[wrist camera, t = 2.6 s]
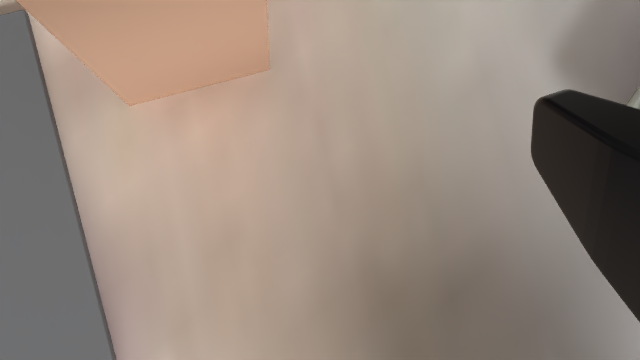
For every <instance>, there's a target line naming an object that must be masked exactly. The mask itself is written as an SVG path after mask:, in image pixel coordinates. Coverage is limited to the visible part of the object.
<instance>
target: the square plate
mask: <svg viewBox="0 0 640 360" xmlns="http://www.w3.org/2000/svg"><path fill="white" fill-rule="evenodd" d="M627 106H631V107H634V108H638V109H640V86H639V88H638V89H637V91H636V92H635V93H634V95H633V96H632V98H631V99H630V100H629V102H628V103H627Z"/></svg>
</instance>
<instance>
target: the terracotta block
mask: <svg viewBox="0 0 640 360" xmlns="http://www.w3.org/2000/svg"><path fill="white" fill-rule="evenodd" d="M16 1H17V2H18V3H19V4H20V5H21V6H22V7H23V8H25V9H26V10H27V11H28V12H29V13H30V14H31V15H32V16H33V17H34V18H35V19H36V20H37V21H39V22H40V23H41V24H42V25H43V26H44V27H45V28H46V29H47V30H48V31H49V32H50V33H51V34H52V35H54V36H55V37H56V38H57V39H58V40H59V41H60V42H61V43H62V44H63V45H64V46H65V47H66V48H68V49H69V50H70V51H71V52H72V53H73V54H74V55H75V56H76V57H77V58H78V59H79V60H80V61H82V62H83V63H84V64H85V65H86V66H87V67H88V68H89V69H90V70H91V71H92V72H93V73H94V74H95V75H97V76H98V77H99V78H100V79H101V80H102V81H103V82H104V83H105V84H106V85H107V86H108V87H109V88H111V89H112V90H113V91H114V92H115V93H116V94H117V95H118V96H119V97H120V98H121V99H122V100H123V101H124V102H126V103H127V104H128V105H129V106H131V105H135V104H138V103H142V102H146V101H150V100H154V99H158V98H161V97H165V96H169V95H173V94H177V93H181V92H185V91H188V90H192V89H196V88H200V87H204V86H208V85H211V84H215V83H219V82H223V81H227V80H231V79H235V78H238V77H242V76H246V75H250V74H254V73H258V72H261V71H265V70H269V69H270V66H269V40H268V13H267V0H16Z"/></svg>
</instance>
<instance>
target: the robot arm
mask: <svg viewBox="0 0 640 360" xmlns="http://www.w3.org/2000/svg"><path fill="white" fill-rule="evenodd" d="M531 155H532V159H533V162H534V164H535V167H536V168H537V170H538V172H539V173H540V175H541V177H542V178H543V180H544V182H545V183H546V185H547V187H548V188H549V190H550V192H551V193H552V195H553V197H554V198H555V200H556V202H557V203H558V205H559V207H560V208H561V210H562V212H563V213H564V215H565V217H566V218H567V220H568V222H569V223H570V225H571V227H572V228H573V230H574V232H575V233H576V235H577V237H578V238H579V240H580V242H581V243H582V245H583V246H584V248H585V249H586V251H587V253H588V254H589V256H590V257H591V259H592V260H593V262H594V263H595V264H596V266H597V267H598V268H599V270H600V271H601V272H602V274H603V275H604V276H605V278H606V279H607V280H608V282H609V283H610V284H611V286H612V287H613V288H614V289H615V291H616V292H617V293H618V295H619V296H620V297H621V299H622V300H623V301H624V302H625V304H626V305H627V306H628V308H629V309H630V310H631V312H632V313H633V314H634V315H635V317H636V318H637V319H638V321H639V322H640V109H638V108H634V107H631V106H627V105H624V104H620V103H616V102H613V101H609V100H606V99H602V98H599V97H595V96H592V95H588V94H585V93H581V92H578V91H574V90H562V91H559V92H556V93H553V94H549V95H546V96H543V97H541V98H539V99H538V100H537V101H536V103H535V105H534V110H533V124H532V139H531Z"/></svg>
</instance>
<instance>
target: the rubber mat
mask: <svg viewBox="0 0 640 360" xmlns="http://www.w3.org/2000/svg"><path fill="white" fill-rule="evenodd" d="M0 360H116V357H115V353H114V349H113V345H112V341H111V337H110V333H109V329H108V325H107V321H106V317H105V314H104V310H103V306H102V302H101V298H100V294H99V290H98V286H97V282H96V278H95V274H94V271H93V267H92V263H91V259H90V255H89V251H88V247H87V243H86V239H85V235H84V231H83V228H82V224H81V220H80V216H79V212H78V208H77V204H76V200H75V196H74V192H73V188H72V185H71V181H70V177H69V173H68V169H67V165H66V161H65V157H64V153H63V149H62V145H61V142H60V138H59V134H58V130H57V126H56V122H55V118H54V114H53V110H52V106H51V102H50V99H49V95H48V91H47V87H46V83H45V79H44V75H43V71H42V67H41V63H40V59H39V56H38V52H37V48H36V44H35V40H34V36H33V32H32V28H31V24H30V20H29V16H28V14H27V13H26V12H25V11H24V10H20V11H16V12H12V13H8V14H4V15H0Z"/></svg>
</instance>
